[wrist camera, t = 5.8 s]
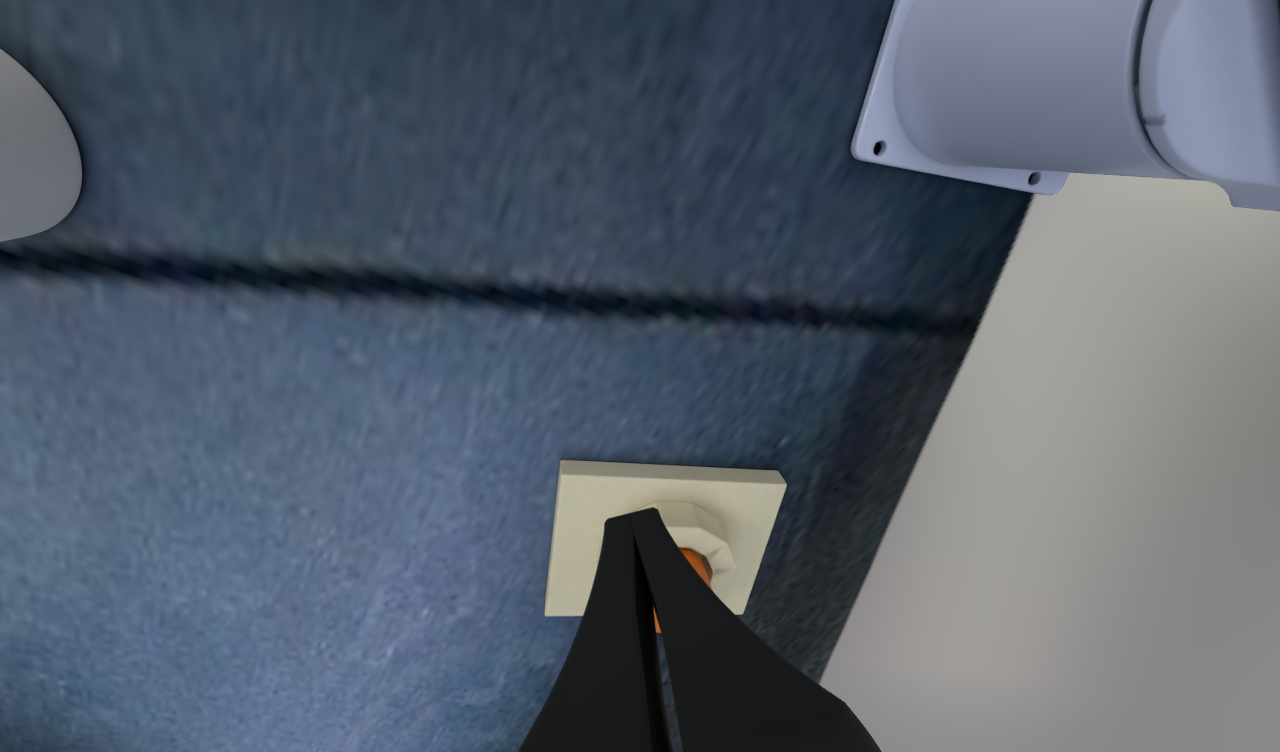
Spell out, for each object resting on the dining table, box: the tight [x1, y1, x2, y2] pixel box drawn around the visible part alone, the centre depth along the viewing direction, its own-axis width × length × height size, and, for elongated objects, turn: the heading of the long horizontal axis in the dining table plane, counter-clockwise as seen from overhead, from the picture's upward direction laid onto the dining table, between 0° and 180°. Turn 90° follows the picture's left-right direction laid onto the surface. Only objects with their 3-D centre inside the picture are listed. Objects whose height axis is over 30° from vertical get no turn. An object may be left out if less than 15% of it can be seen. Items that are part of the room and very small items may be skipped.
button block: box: [545, 460, 787, 616], centre depth 25 cm, size 11×9×3 cm
